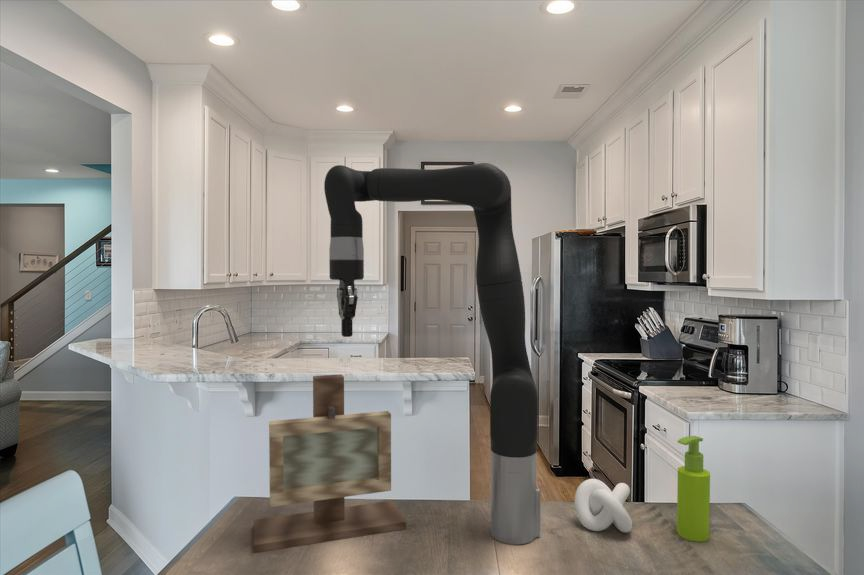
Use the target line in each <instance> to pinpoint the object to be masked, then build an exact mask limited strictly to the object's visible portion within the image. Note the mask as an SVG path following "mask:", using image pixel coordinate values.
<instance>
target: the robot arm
mask: <svg viewBox="0 0 864 575" xmlns="http://www.w3.org/2000/svg"><path fill="white" fill-rule="evenodd" d="M323 187H324V188H323V189H324V195H325V201H326V205H327V210H328V213H329V216H330V241H329V250H328V251H329V257H328V258H329V263H328V264H329V280H332V281H339V287H337V288H336V297H337V298H336V299H337V308H338V315H339V317H340V320H341V322H340V323H341V324H340V325H341V329H340V330H341V337H343V338H347V337H348V338H349V337H350V338H351V337H352V336H353V320H354V318H355V316H356V311H357V304H358V298H359V297H358V289H357V288H356V287H355V281H363V280H364V276H365V275H364V274H365V272H364V270H365V268H364V267H365V264H364V263H365V261H364V260H365V259H364V258H365V254H364V252H365V249H364V241H363V240H364V239H363V232H364V231H363V230H364V229H363V228H364V227H363V225H364V224H363V217H362V214H361V213H360V212H359V211H358V210H357V208H356V204H355V203H356V202H361V203H362V202H373V201H374V202H375V201H378V202H389V203H390V202H392V203H393V202H394V203H396V202H397V203H407V202H411V203H412V202H423V201H443V202H444V201H445V202H450V203H457V204H462V205H466V206H470V207H471V208H472V210H473V213H474V217H475V222H476V228H477V234H478V246H477V257H476V266H475V278H476V279H475V281H476V282H475V283H476V291H477V297H478V304H479V309H480V313H481V319H482V323H483V326H484V329H485V332H486V335H487V338H488V342H489V347H490V352H491V369H492V382H491V383H492V384H491V389H490V393H489V394H490V395H489V397H490V398H489V399H490V401H489V418H490V419H489V436H490V506H489V507H490V513H489V515H490V520H489V525H490V529H489V530H490V531H489V532H490V535H491V537H492V538H493V539H495V540H497V541H499V542H500V543H504V544H509V545H525V544H529V543H531V542H533V541H534V540H535V539H536V538H539V537H541V490H540V488H539V487H537V472H538V471H537V462H538V461H537V459H538V458H537V451H538V450H537V447H538V415H539V414H538V413H539V411H538V410H539V409H538V407H539V406H538V405H539V404H538V403H539V401H538V400H539V399H538V391H537V386H536V383H535V380H534V377H533V373H532V370H531V365H530V361H529V356H528V351H527V347H526V346H527V344H526V304H525V293H524V286H523V281H522V279H523V278H522V272H521V268H520V267H521V266H520V262H519V257H518V250H517V247H516V243H515V237H514V232H513V231H514V229H513V218H512V217H513V215H512V212H513V211H512V186H511V182H510V179H509V177H508V176H507V174H506V173H505V172H504V171H503V170H502V169H500V168H498V166H495V165H494V164H491V163H489V162H479V163H473V164H469V165H468V164H467V165H462V166H461V165H460V166H456V167H450V168H436V169H435V168H433V169H426V168H425V169H421V168H420V169H419V168H396V167H395V168H391V167H380V168H379V167H378V168H375V169H372V170H356V169H354V168H351V167H348V166H345V165H342V164H341V165H340V164H337V165H334V166H332V167H331V168H330V169H329V170H328V171H327V173H326V174H325V178H324V185H323Z"/></svg>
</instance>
